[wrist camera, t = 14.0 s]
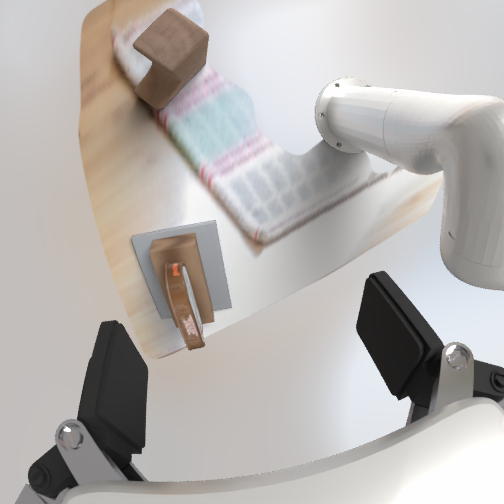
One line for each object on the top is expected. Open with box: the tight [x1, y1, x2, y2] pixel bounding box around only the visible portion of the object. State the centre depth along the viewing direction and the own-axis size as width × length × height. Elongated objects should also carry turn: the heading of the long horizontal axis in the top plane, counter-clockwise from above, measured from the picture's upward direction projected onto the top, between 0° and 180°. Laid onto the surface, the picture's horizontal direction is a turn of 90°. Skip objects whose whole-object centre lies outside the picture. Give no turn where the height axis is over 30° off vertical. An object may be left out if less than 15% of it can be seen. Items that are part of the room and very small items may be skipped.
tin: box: [165, 262, 205, 350], centre depth 40 cm, size 15×3×8 cm, turn 5°
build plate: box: [131, 220, 232, 319], centre depth 47 cm, size 14×18×1 cm
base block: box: [149, 232, 214, 328], centre depth 45 cm, size 7×16×4 cm, turn 5°
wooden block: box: [133, 8, 209, 110], centre depth 24 cm, size 9×4×18 cm, turn 136°
